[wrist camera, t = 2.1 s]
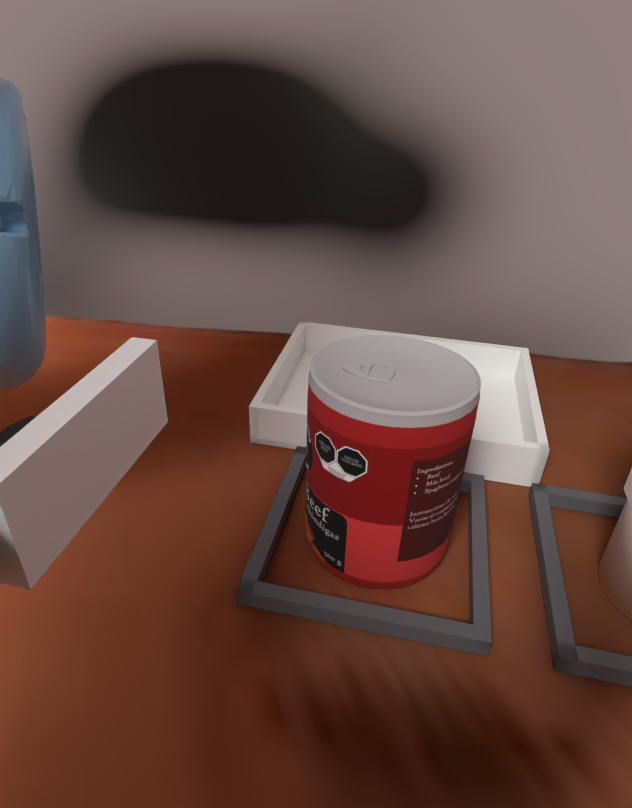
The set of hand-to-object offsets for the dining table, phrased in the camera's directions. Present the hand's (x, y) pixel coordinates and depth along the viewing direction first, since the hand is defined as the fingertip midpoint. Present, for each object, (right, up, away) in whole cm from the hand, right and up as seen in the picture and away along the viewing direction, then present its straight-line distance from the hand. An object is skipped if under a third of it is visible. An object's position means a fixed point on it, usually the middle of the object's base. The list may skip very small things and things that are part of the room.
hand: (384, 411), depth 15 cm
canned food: (+1, -8, +17) cm, 18 cm away
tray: (+4, 0, +28) cm, 29 cm away
